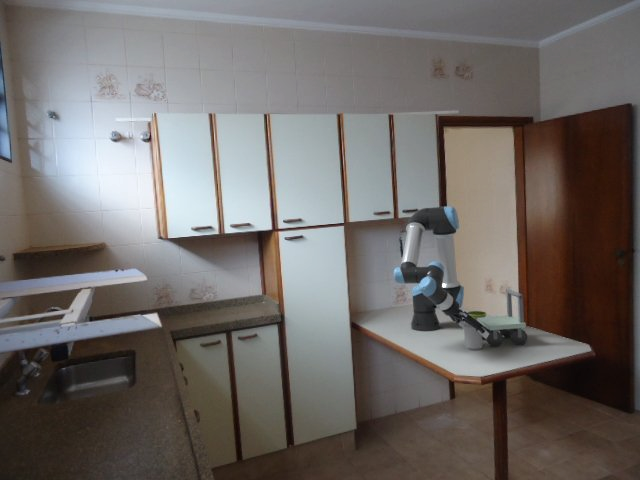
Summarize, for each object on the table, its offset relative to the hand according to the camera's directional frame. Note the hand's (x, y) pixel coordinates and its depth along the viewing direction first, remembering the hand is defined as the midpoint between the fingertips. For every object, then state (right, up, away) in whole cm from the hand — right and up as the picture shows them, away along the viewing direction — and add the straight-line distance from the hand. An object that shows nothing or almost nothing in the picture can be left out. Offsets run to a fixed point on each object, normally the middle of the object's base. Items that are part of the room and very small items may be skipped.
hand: (478, 333), depth 207 cm
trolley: (+13, -5, +6) cm, 15 cm away
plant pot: (+10, -4, +29) cm, 30 cm away
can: (-2, -7, 0) cm, 7 cm away
